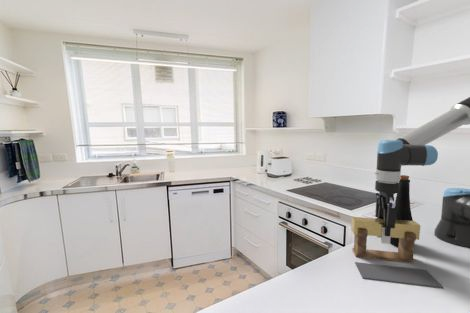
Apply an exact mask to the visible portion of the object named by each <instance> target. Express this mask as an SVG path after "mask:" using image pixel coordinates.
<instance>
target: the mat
mask: <svg viewBox="0 0 470 313" xmlns="http://www.w3.org/2000/svg"><path fill="white" fill-rule="evenodd" d="M354 264H355V266H356V268H357V269H358V272H359V274H360V275H361V279H364V280H373V281H374V280H375V281H380V282H388V283H390V282H391V283H396V284H405V285H414V286H421V287H428V288H429V287H431V288H438V289H444V286H443V285H442V284H441V283H440V282H439V281H438V280H437V279H436V278H435V277H434V276H433V275H432V274H431V273H430V272H429V271H428V270H427V269H422V268H412V267H403V266H402V267H401V266H395V265H385V264H377V263H376V264H375V263H370V262H369V263H367V262H359V261H358V262H357V261H354Z"/></svg>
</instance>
